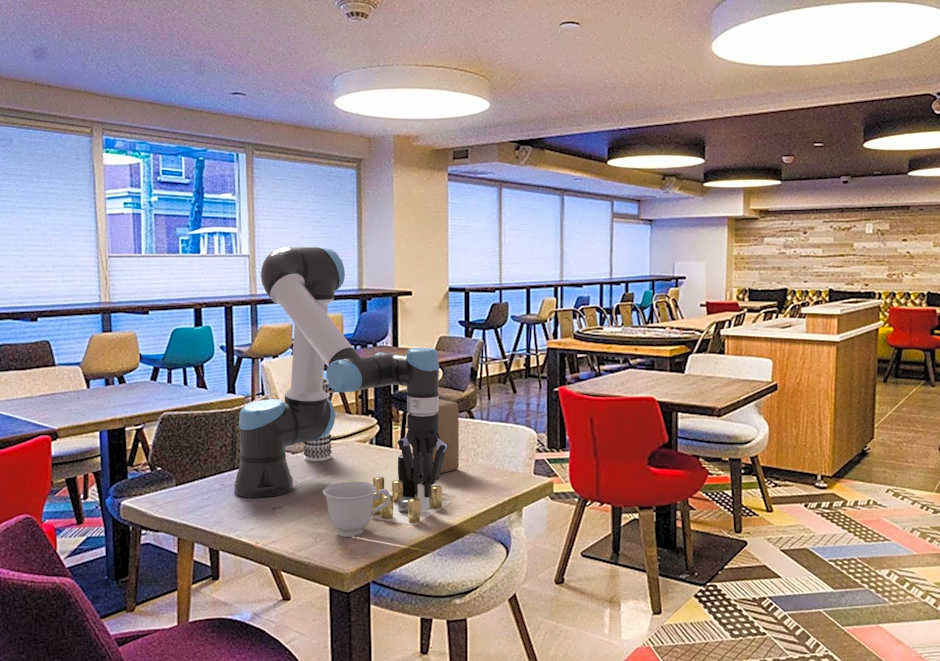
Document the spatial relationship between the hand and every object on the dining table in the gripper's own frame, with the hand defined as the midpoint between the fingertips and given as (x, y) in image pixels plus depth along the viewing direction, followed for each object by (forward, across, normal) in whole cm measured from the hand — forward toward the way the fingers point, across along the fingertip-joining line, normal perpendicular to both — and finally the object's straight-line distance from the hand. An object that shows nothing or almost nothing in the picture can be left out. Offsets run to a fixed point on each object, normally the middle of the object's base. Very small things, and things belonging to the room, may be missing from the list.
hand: (423, 509), depth 183 cm
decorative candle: (+2, -55, +32) cm, 64 cm away
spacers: (+1, -8, 0) cm, 8 cm away
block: (+2, -16, +36) cm, 39 cm away
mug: (+1, -8, +12) cm, 15 cm away
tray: (+1, -9, +1) cm, 9 cm away
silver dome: (+1, -4, 0) cm, 4 cm away
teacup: (+1, -7, -17) cm, 19 cm away
